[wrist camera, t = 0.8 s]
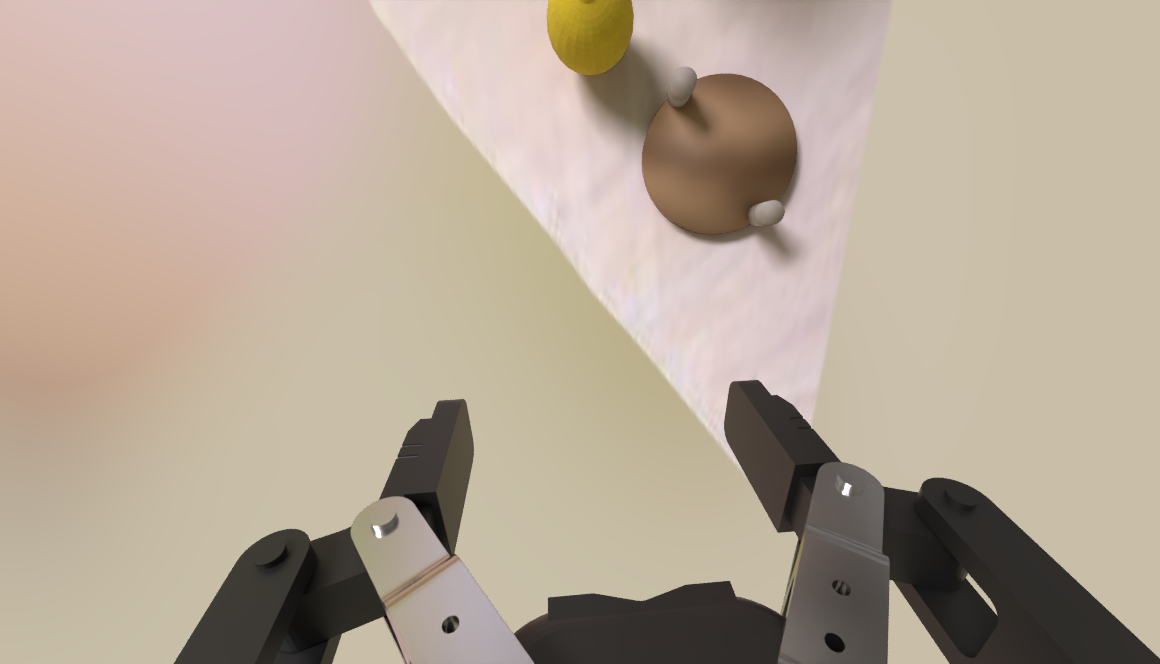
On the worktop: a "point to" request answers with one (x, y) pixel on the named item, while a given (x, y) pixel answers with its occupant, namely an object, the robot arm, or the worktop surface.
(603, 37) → the lemon
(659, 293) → the worktop surface
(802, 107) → the worktop surface
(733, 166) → the pin dish
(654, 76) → the worktop surface
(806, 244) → the worktop surface
